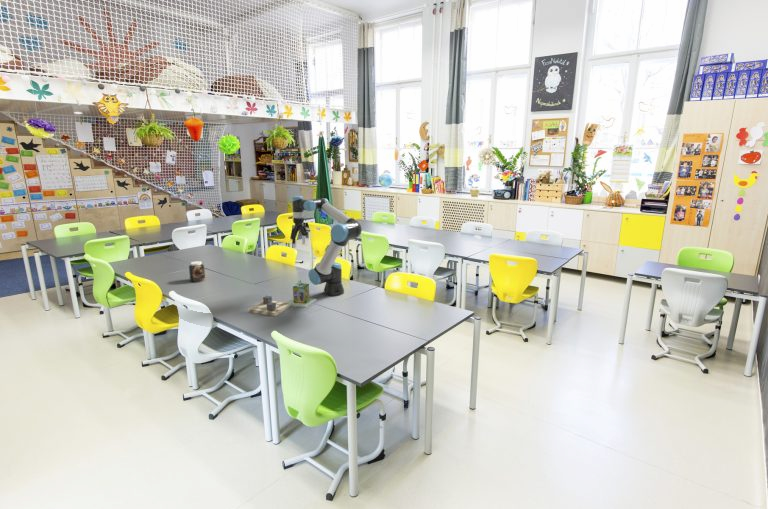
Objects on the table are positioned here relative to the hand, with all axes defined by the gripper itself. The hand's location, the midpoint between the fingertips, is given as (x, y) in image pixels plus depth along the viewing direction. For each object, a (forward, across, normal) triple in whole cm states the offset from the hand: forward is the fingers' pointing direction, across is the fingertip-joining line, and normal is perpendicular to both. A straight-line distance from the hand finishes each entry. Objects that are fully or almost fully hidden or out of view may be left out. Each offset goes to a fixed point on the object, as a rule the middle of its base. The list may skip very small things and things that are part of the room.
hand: (299, 246), depth 300 cm
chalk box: (+34, +22, +13) cm, 42 cm away
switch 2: (+32, +46, +5) cm, 56 cm away
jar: (+35, +6, -92) cm, 99 cm away
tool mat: (+35, +22, +13) cm, 43 cm away
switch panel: (+35, +40, 0) cm, 53 cm away
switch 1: (+32, +36, -5) cm, 49 cm away
